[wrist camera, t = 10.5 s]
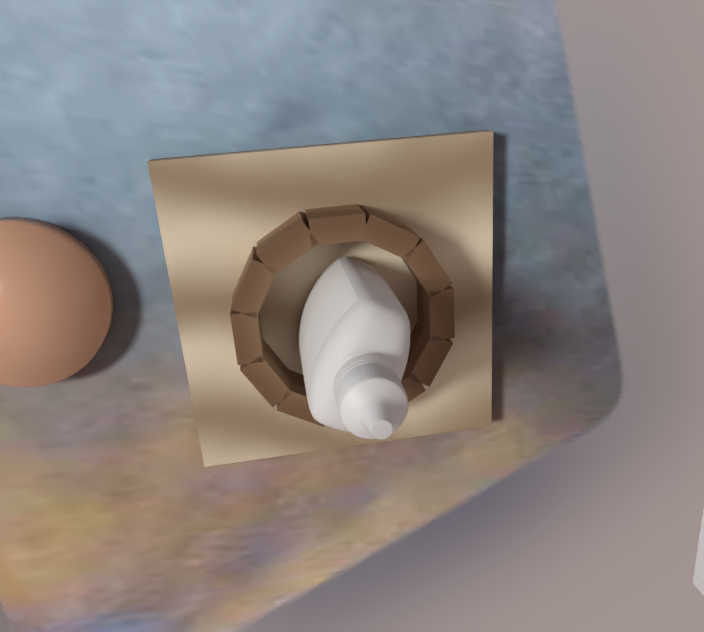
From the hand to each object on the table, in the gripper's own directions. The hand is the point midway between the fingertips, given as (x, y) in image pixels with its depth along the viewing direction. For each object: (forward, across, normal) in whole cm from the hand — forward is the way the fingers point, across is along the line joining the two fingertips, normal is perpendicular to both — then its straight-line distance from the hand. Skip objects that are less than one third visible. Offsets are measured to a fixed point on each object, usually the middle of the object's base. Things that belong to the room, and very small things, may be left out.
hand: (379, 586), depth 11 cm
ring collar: (+21, +2, -2) cm, 21 cm away
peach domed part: (+21, -13, 0) cm, 25 cm away
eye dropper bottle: (+20, +1, -2) cm, 20 cm away
